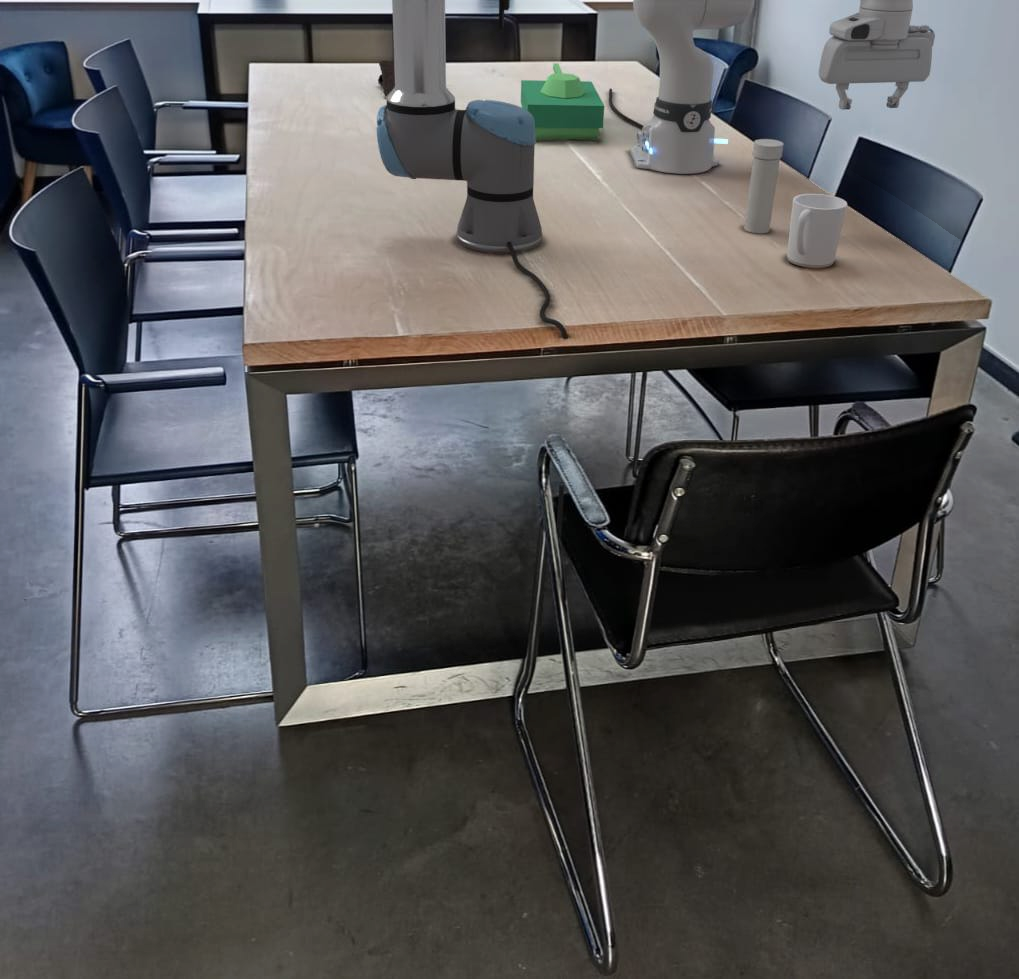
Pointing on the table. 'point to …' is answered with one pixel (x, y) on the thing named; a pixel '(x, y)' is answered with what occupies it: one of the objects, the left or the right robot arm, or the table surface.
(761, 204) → the grey bottle
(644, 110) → the table surface
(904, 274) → the table surface
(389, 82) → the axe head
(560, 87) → the toy tank
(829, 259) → the mug
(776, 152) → the lid
